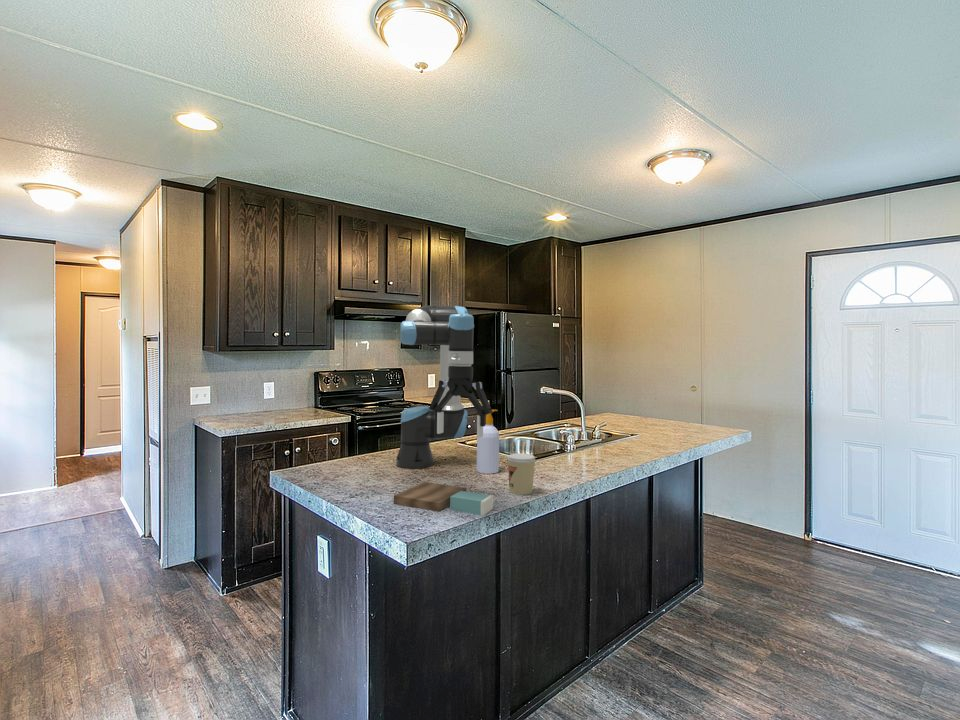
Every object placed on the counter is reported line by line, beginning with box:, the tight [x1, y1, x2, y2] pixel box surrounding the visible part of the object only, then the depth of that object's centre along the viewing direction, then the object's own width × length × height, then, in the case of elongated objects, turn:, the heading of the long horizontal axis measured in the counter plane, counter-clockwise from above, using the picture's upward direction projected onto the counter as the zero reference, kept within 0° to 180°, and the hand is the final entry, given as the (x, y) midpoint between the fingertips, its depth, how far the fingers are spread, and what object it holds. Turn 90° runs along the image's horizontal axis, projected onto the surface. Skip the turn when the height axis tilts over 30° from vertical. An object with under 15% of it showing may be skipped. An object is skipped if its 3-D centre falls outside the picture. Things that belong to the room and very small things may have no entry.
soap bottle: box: [476, 409, 500, 475], centre depth 201 cm, size 9×9×24 cm
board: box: [393, 481, 467, 512], centre depth 164 cm, size 16×18×2 cm
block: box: [449, 490, 494, 516], centre depth 155 cm, size 4×7×11 cm
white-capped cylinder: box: [507, 452, 536, 496], centre depth 174 cm, size 9×9×12 cm
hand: (459, 435), depth 157 cm, fingers open, 13 cm apart
